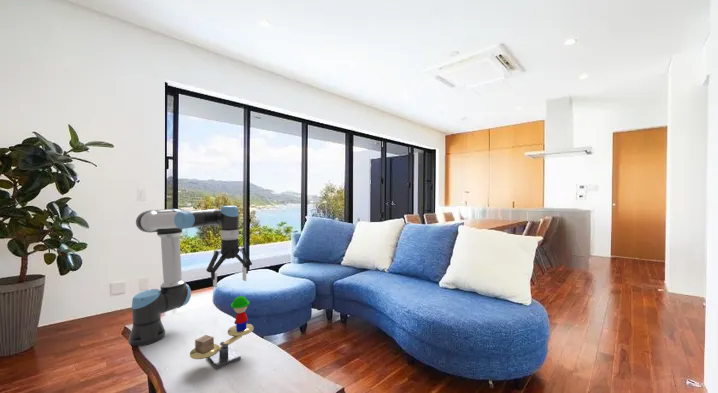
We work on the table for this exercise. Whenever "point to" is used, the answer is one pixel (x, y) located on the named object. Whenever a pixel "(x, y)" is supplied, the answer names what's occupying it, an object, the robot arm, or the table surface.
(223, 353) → the balance
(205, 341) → the walnut block
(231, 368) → the table surface
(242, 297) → the toy
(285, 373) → the table surface
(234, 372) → the table surface
